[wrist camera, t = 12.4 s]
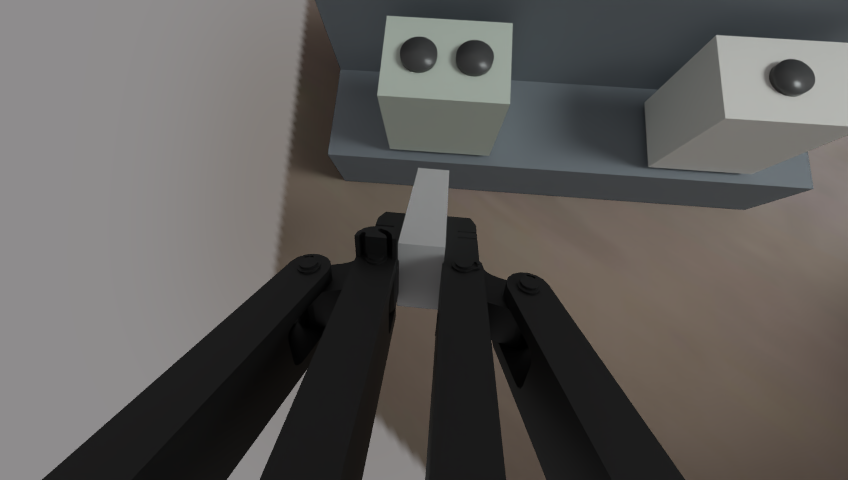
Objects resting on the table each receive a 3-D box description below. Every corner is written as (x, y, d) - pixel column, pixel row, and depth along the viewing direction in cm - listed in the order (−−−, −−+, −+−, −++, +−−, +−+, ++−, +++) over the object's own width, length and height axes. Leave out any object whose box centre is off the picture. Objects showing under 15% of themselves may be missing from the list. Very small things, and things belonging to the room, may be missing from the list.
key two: (488, 155, 23) (511, 100, 17) (389, 148, 23) (376, 91, 17) (492, 92, 24) (514, 18, 18) (396, 86, 24) (386, 10, 18)
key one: (751, 174, 22) (874, 124, 16) (648, 167, 23) (730, 114, 16) (743, 108, 23) (856, 38, 17) (644, 102, 24) (720, 30, 17)
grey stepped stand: (744, 209, 28) (1059, 113, 14) (345, 180, 28) (267, 63, 15) (728, 64, 30) (977, -136, 17) (363, 42, 31) (313, -165, 17)
